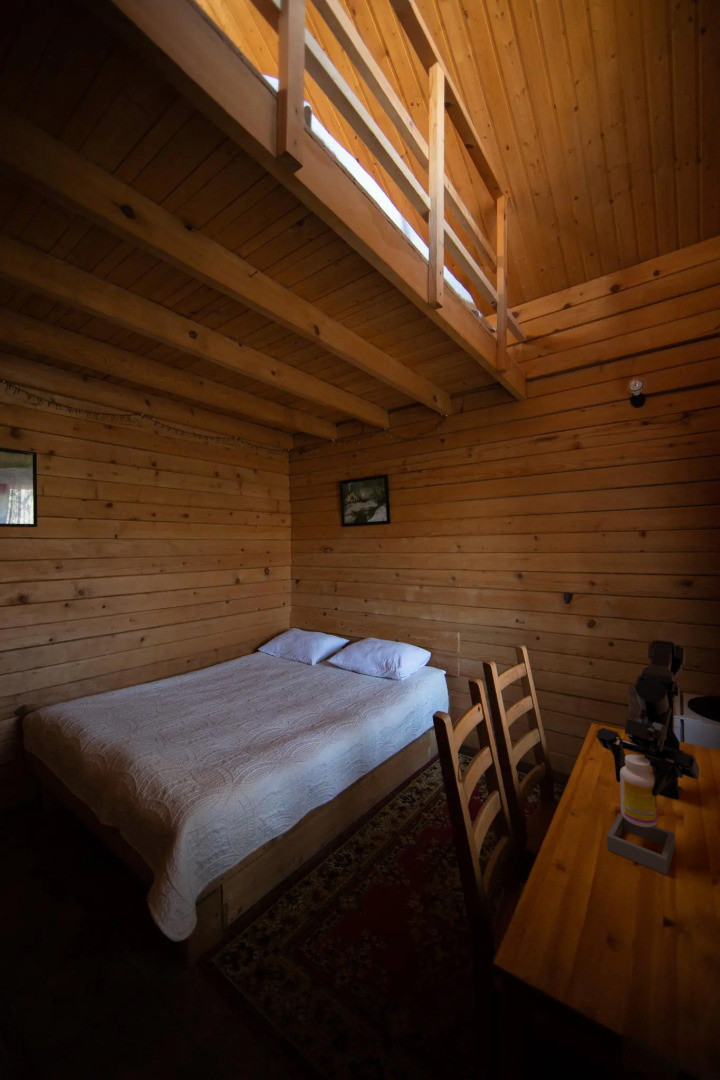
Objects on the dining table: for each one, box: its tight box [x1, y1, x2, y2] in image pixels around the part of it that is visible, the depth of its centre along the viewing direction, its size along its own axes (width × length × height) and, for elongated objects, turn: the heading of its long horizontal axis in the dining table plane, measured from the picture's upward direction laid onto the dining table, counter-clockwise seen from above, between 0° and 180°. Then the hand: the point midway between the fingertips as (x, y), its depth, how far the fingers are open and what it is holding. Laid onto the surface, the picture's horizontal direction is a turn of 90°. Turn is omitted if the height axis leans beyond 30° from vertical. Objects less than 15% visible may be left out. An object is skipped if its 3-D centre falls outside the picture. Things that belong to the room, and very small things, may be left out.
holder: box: [606, 812, 676, 876], centre depth 93 cm, size 11×11×3 cm
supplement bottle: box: [619, 754, 658, 827], centre depth 94 cm, size 7×7×13 cm
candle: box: [627, 684, 641, 742], centre depth 137 cm, size 8×7×20 cm
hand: (635, 788), depth 93 cm, fingers closed on supplement bottle, 7 cm apart
